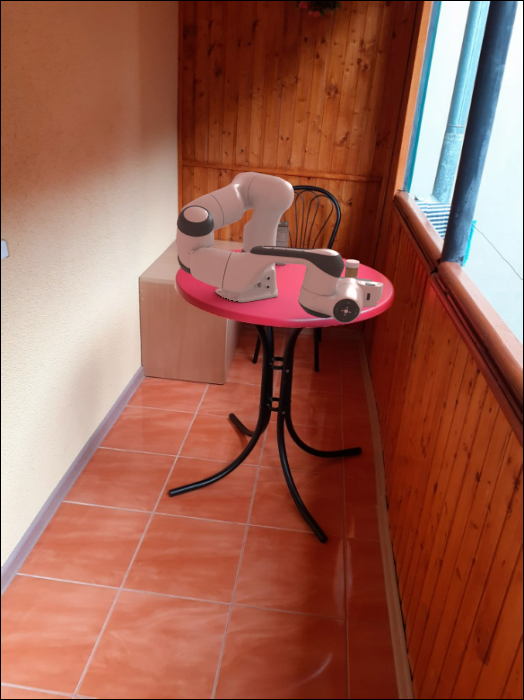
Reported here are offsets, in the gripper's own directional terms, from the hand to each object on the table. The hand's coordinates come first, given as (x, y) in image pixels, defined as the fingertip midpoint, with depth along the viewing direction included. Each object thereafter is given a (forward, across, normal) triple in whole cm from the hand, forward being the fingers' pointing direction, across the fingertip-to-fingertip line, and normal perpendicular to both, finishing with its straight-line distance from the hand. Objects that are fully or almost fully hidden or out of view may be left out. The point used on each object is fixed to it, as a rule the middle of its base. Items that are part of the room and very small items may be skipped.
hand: (350, 280), depth 179 cm
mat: (+26, 0, -10) cm, 28 cm away
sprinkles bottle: (+12, 0, -10) cm, 16 cm away
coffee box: (+52, -30, -10) cm, 61 cm away
